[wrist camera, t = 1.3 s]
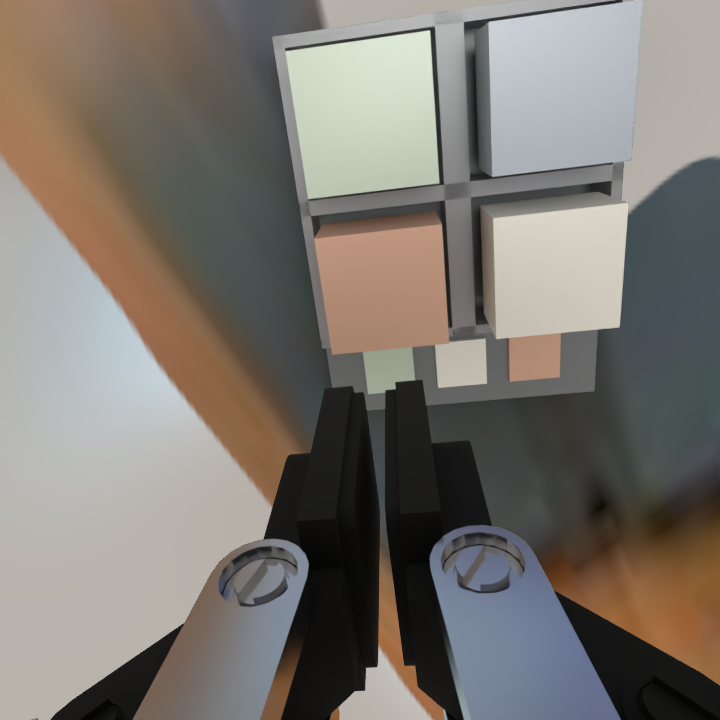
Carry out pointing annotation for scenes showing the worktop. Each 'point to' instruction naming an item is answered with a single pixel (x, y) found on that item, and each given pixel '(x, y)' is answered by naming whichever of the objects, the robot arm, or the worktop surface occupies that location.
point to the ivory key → (553, 264)
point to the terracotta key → (383, 282)
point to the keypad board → (452, 227)
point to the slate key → (557, 89)
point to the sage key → (365, 114)
